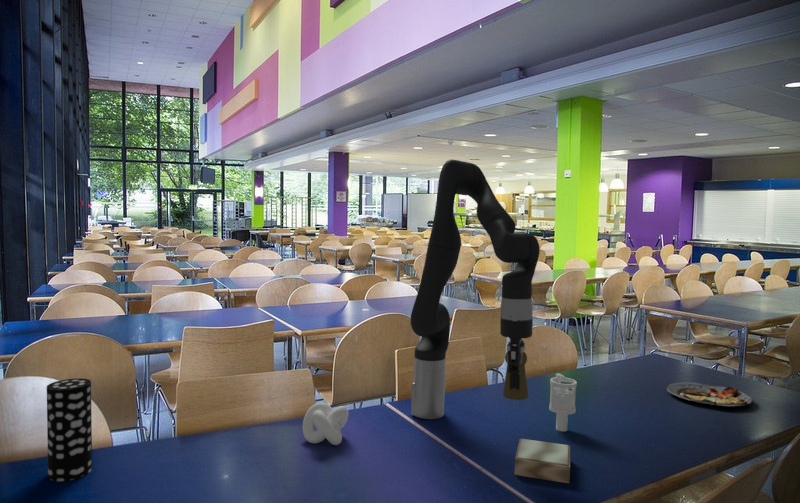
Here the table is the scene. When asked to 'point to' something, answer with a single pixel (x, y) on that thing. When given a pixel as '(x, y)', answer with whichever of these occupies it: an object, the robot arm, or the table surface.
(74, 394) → the white-spotted black cylinder
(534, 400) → the table surface
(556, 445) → the base block
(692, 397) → the food plate
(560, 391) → the grey mechanical part
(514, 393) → the cork
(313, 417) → the grey torus knot
